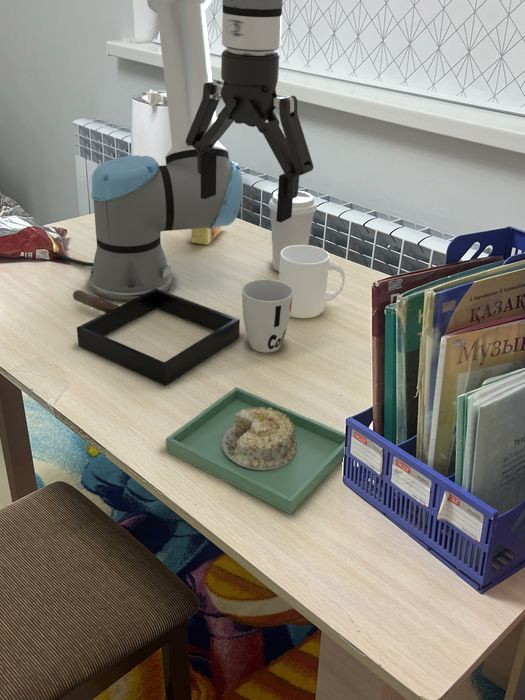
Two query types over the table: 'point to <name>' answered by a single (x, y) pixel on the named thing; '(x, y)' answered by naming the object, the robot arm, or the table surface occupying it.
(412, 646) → the table surface
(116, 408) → the table surface
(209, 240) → the candy box
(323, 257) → the mug
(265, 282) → the cup
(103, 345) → the pan
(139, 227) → the robot arm
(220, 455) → the tray
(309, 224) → the coffee cup
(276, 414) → the cake
